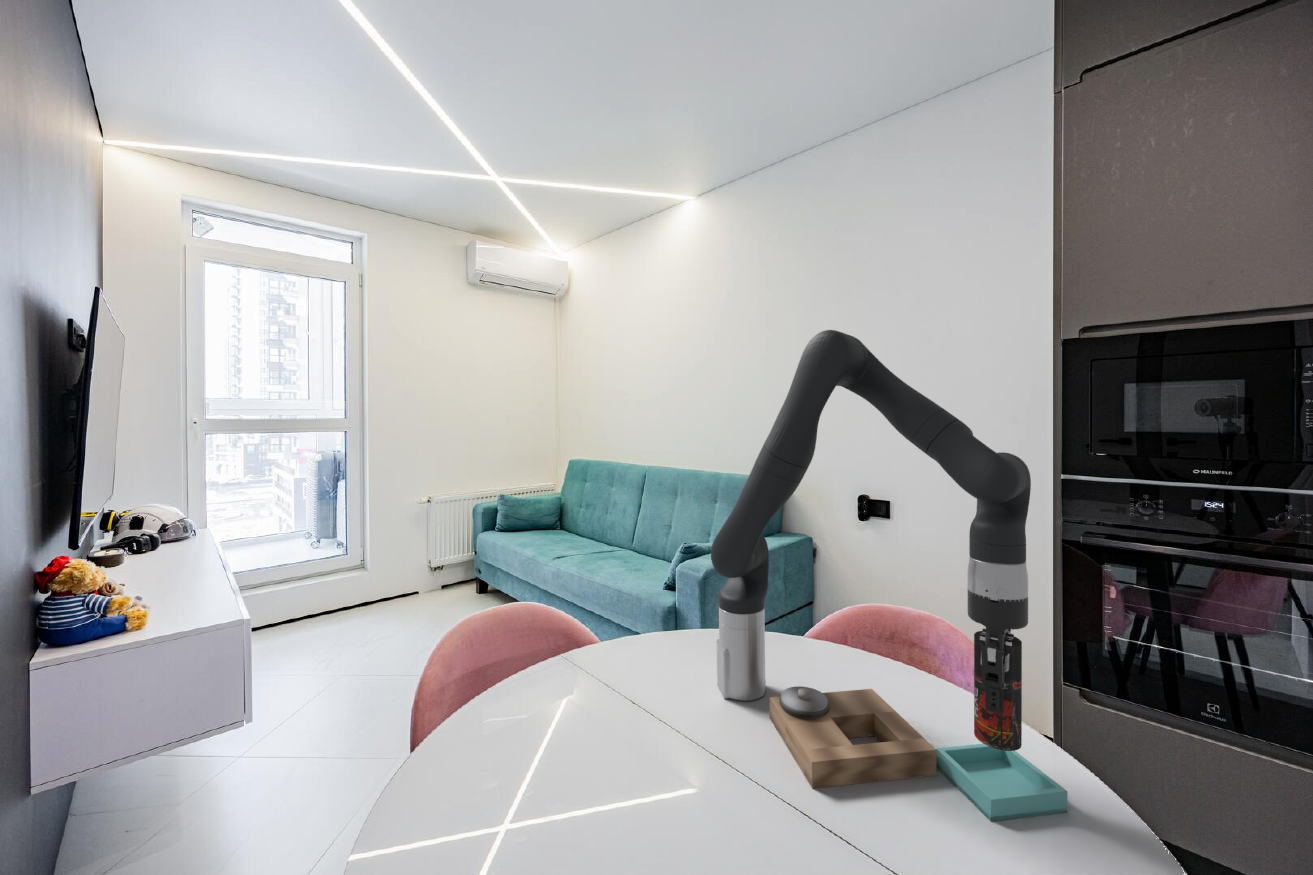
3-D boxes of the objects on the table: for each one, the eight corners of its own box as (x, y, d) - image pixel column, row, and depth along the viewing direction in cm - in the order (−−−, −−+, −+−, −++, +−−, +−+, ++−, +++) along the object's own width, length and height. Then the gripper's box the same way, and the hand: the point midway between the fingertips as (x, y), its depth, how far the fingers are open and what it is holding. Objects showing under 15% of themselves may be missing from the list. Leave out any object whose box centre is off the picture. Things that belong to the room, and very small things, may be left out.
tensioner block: (812, 788, 80) (811, 743, 80) (769, 717, 99) (768, 681, 99) (936, 775, 82) (936, 731, 82) (871, 708, 102) (870, 673, 101)
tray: (990, 821, 73) (990, 799, 73) (936, 766, 84) (936, 748, 84) (1067, 812, 74) (1067, 790, 74) (1003, 759, 86) (1003, 741, 86)
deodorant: (965, 728, 82) (965, 631, 81) (1001, 725, 82) (1001, 629, 82) (992, 752, 76) (992, 647, 75) (1031, 749, 76) (1032, 645, 76)
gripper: (974, 573, 86) (974, 676, 87) (959, 597, 75) (960, 715, 76) (1031, 581, 82) (1031, 689, 82) (1024, 608, 70) (1024, 733, 71)
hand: (997, 701), depth 79 cm, fingers closed on deodorant, 6 cm apart
